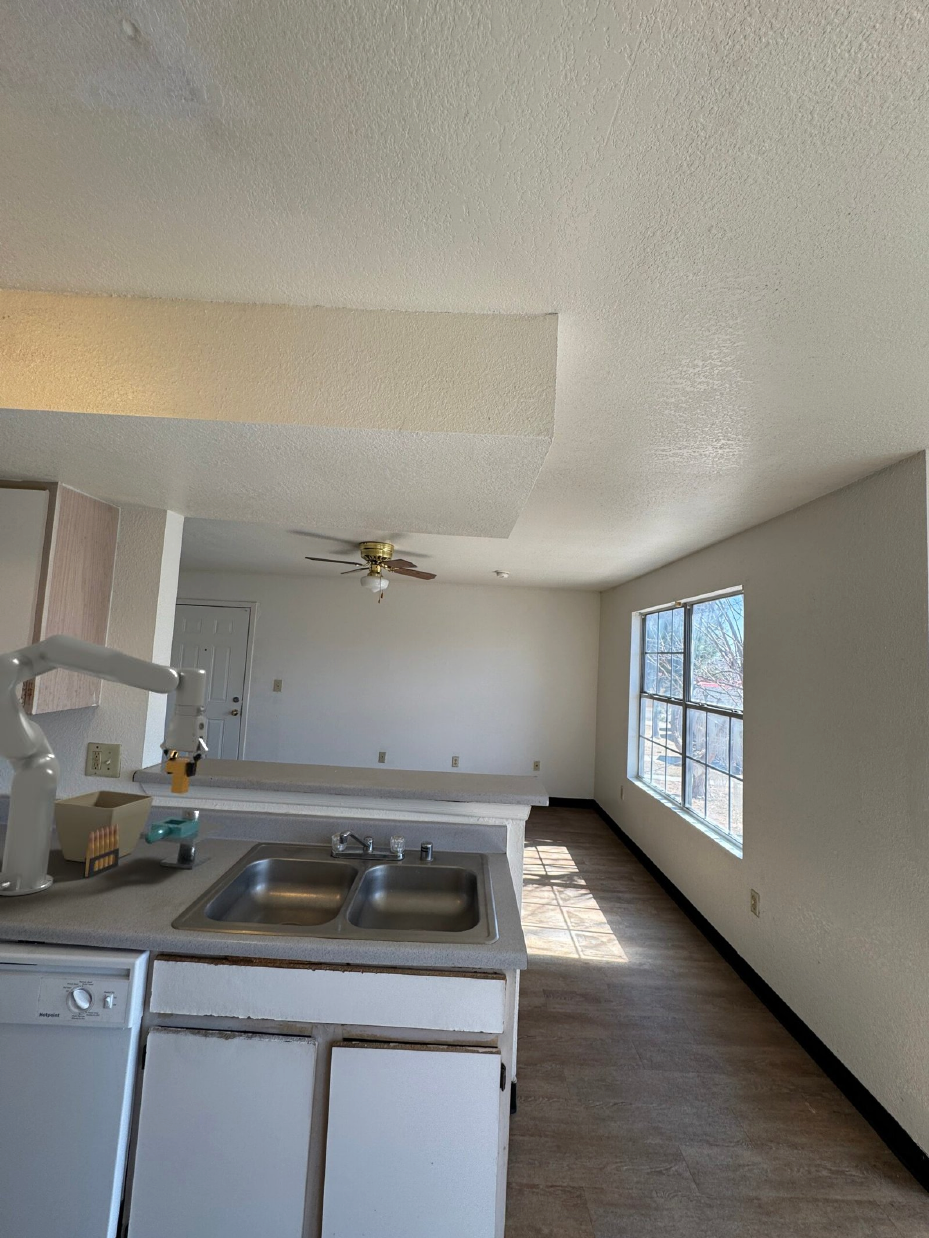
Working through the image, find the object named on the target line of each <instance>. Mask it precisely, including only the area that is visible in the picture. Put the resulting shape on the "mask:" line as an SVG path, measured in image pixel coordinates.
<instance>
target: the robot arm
mask: <svg viewBox="0 0 929 1238" xmlns="http://www.w3.org/2000/svg"><path fill="white" fill-rule="evenodd" d="M57 669H61V670H62V669H63V670H66V671H69V672H74V673H79V674H81V675H86V676H90V677H91V678H92V677H93V678H96V679H100V680H103V681H107V682H112V683H117V684H122V685H125V686H128V687H133V688H137V689H140V690H144V691H148V692H152V693H156V694H160V695H166V694H170V693H172V692H176V693H175V699H174V700H175V701H174V707H173V714H172V715H171V716H170V720H169V723H168V726H167V732H166V737H165V739H164V741H162V743H161V744H160V745H159V747H160V749H161V750H162V751H163V753H164V755H165V757H166V761H168V760H173V759H177V756H178V754H179V752H183V753H188V759H190V762H189V763H188V768H187V774H186V776H187V777H189V778H191V777H195V776H196V774H197V771H196V769H197V762H198V761H199V762H200V760H201V759H202V758H203V757H204V756H206V755H207V754H208V753H209V751H210V750H209V748H208V747H207V745H206V737H207V734H206V733H207V732H206V731H207V727H206V719H205V718H206V717H205V716H203V714H206V712H207V710H206V708H204V702H205V701H204V700H205V692H206V686H207V685H206V684H207V671H206V670H205V669H203V668H198V667H197V668H196V667H195V668H194V667H183V668H182V667H173V666H169V665H161V664H159V663H155V662H152V661H151V662H150V661H148V660H144V659H140V658H137V657H135V656H132V655H129V654H126V653H124V652H122V651H121V650H117V649H114V648H111V647H107V646H103V645H100V644H96V643H94V642H93V643H92V642H90V641H87V640H82V639H79V638H75V637H71V636H68V635H66V634H53V635H51V636H48V637H47V638H46V639H44V640H40V641H37V642H35V643H33V644H29V645H27V646H25V647H23V648H19V649H16V650H13V651H10V652H4V653H0V757H1V758H3V759H5V760H8V761H9V764H10V765H11V768H12V770H13V771H14V773H15V774H14V776H13V777H12V780H11V785H10V792H9V793H10V795H9V796H10V797H9V809H8V817H7V818H8V819H7V827H6V835H5V843H4V851H3V859H2V864H1V865H2V866H1V872H0V896H1V895H2V896H20V895H21V896H23V895H29V894H33V893H34V894H35V893H37V892H42V891H43V890H45V889H48V888H49V887H50V886H52V884H53V882H54V878H53V876H51V875H49V874H47V873H48V867H49V866H48V865H49V858H50V849H51V843H52V842H51V841H52V840H51V839H52V833H53V824H54V817H55V814H54V807H55V801H56V798H57V789H58V784H59V780H60V775H61V765H60V763H59V760H58V759H57V756H56V755H55V753H54V751H53V748H52V746H51V745H50V743H49V740H48V739H47V737H46V735H45V733H44V731H43V730H42V727H40V725H39V724H38V723H36V722H34V720H30V719H29V717H28V716H27V714H26V712H25V710H24V707H23V705H22V702H21V701H20V699H19V697H18V696H17V693H16V689H17V687H18V685H20V684H21V683H24V682H26V681H29V680H31V679H33V678H36V677H39V676H42V675H44V674H46V673H50V672H52V671H54V670H57ZM166 773H167V775H173V772H166Z"/></svg>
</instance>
